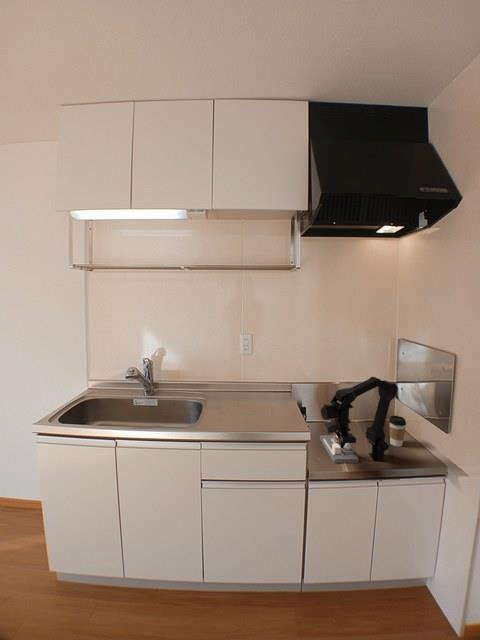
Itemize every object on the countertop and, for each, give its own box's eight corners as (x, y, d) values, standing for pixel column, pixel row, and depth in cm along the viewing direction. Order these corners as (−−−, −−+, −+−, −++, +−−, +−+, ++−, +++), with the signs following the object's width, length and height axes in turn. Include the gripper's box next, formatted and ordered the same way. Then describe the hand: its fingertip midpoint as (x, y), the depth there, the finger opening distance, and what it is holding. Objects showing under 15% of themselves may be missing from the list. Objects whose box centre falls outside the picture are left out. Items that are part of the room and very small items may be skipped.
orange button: (344, 440, 163) (345, 436, 162) (337, 440, 162) (337, 436, 162) (342, 436, 167) (342, 433, 166) (334, 436, 166) (335, 433, 166)
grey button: (352, 450, 153) (352, 446, 152) (344, 450, 152) (344, 446, 152) (349, 446, 157) (349, 442, 156) (341, 446, 156) (341, 442, 156)
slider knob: (340, 454, 152) (340, 447, 151) (334, 454, 151) (334, 447, 151) (337, 450, 156) (337, 443, 155) (332, 450, 155) (332, 443, 155)
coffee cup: (387, 445, 164) (388, 419, 163) (387, 438, 172) (389, 413, 170) (404, 449, 160) (406, 422, 159) (404, 442, 168) (406, 416, 166)
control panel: (358, 462, 148) (358, 456, 148) (334, 463, 148) (334, 456, 147) (340, 438, 172) (340, 432, 172) (319, 438, 172) (319, 433, 171)
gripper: (320, 409, 154) (319, 438, 155) (332, 426, 135) (331, 458, 137) (341, 408, 154) (340, 438, 156) (357, 425, 136) (355, 458, 137)
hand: (341, 447), depth 146 cm, fingers closed
